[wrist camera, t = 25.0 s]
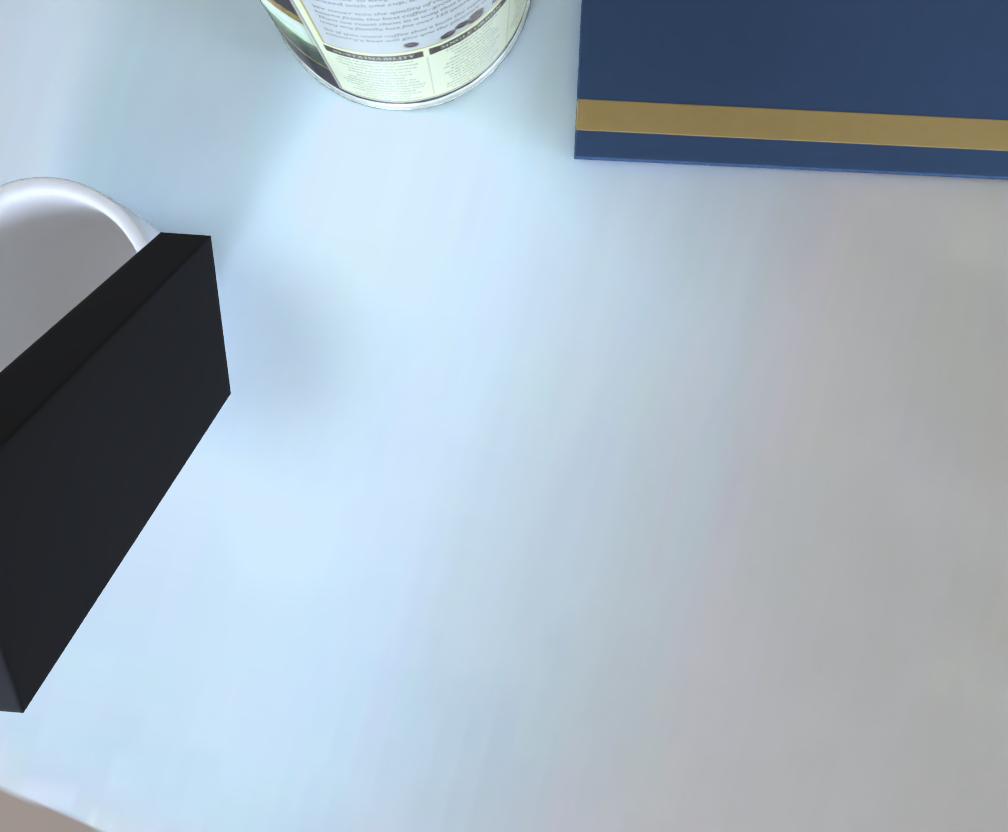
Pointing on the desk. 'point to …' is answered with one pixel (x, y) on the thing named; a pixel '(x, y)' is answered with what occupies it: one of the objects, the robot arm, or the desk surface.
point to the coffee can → (399, 45)
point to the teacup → (57, 253)
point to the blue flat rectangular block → (797, 84)
